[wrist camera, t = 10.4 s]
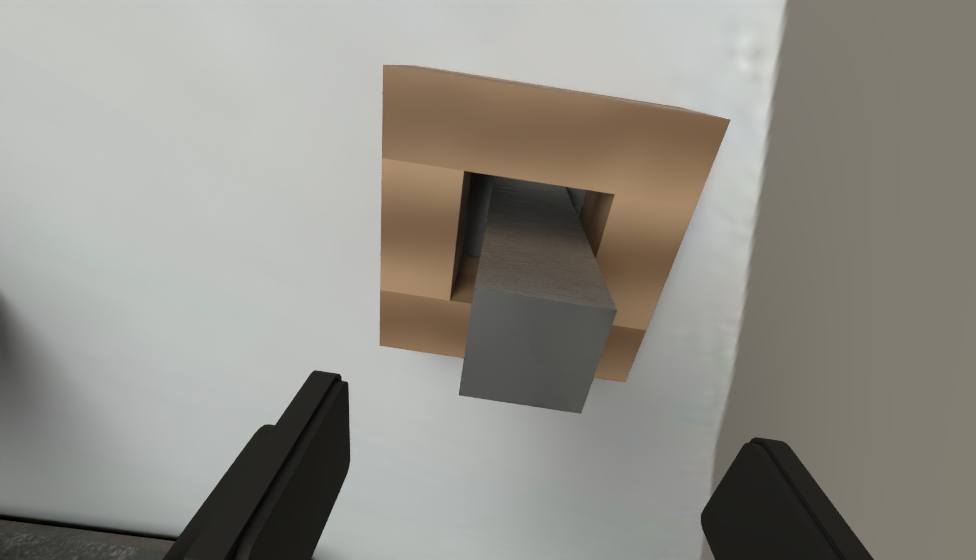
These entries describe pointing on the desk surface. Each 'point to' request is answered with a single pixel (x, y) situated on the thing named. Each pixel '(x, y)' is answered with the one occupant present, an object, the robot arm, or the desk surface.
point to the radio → (74, 544)
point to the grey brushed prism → (535, 302)
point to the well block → (539, 158)
